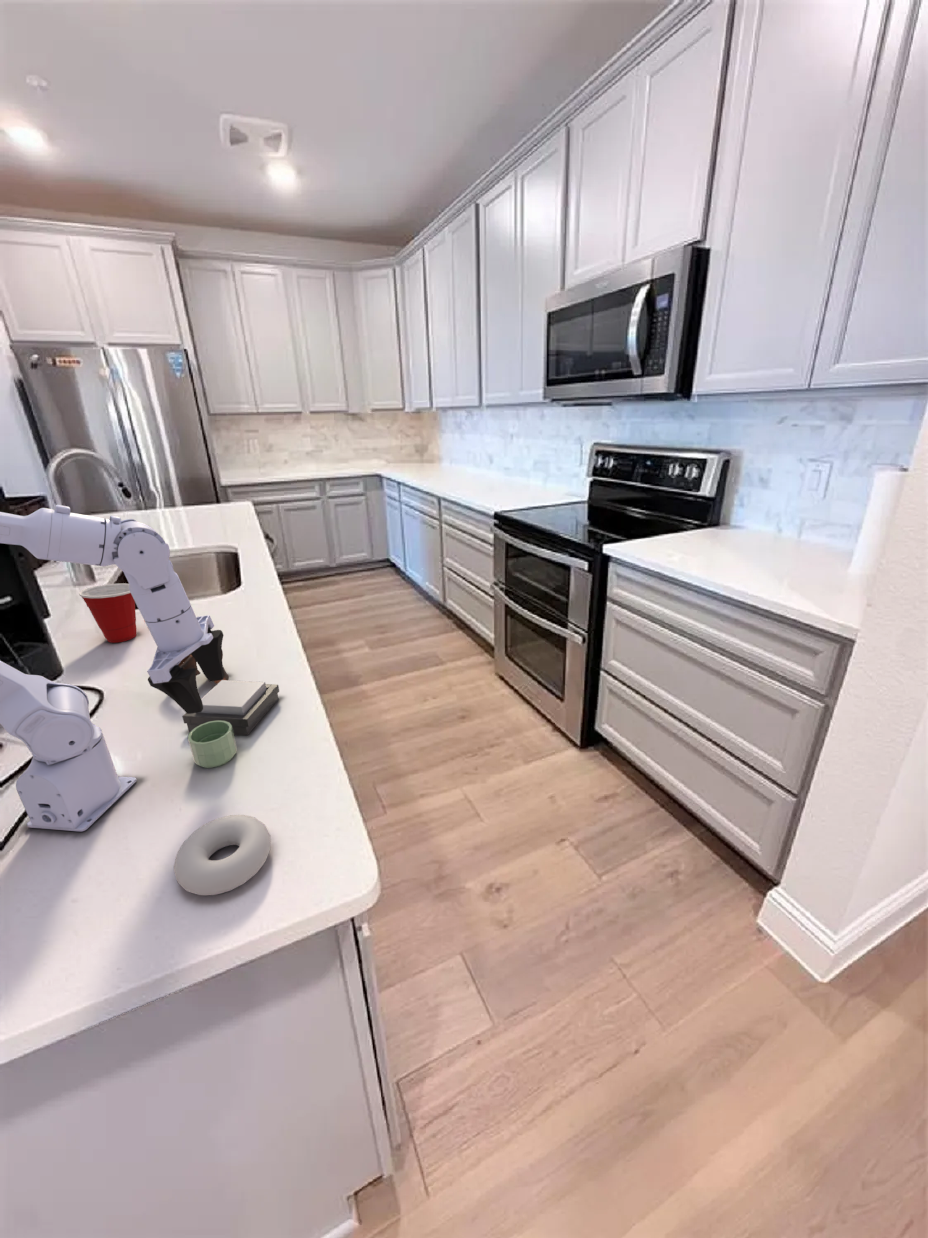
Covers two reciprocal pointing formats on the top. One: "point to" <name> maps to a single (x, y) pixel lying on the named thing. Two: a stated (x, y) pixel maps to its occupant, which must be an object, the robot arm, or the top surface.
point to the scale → (238, 722)
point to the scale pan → (232, 697)
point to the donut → (230, 871)
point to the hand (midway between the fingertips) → (206, 694)
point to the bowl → (212, 743)
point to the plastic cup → (112, 610)
